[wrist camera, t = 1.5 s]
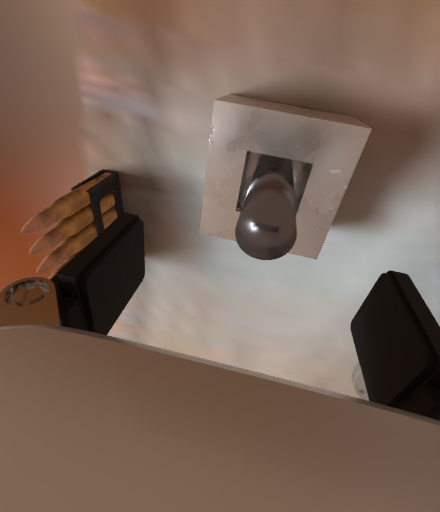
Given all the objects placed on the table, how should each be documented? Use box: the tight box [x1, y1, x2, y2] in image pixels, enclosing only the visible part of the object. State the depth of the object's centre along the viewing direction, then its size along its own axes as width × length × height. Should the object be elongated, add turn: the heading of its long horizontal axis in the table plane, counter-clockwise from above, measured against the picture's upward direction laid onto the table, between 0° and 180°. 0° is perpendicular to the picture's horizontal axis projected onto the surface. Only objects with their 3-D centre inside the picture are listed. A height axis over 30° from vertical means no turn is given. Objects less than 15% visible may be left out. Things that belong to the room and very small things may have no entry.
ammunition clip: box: [21, 170, 124, 279], centre depth 27 cm, size 11×2×12 cm, turn 176°
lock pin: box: [235, 154, 297, 260], centre depth 19 cm, size 3×3×12 cm
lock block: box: [199, 94, 372, 259], centre depth 23 cm, size 10×10×6 cm
